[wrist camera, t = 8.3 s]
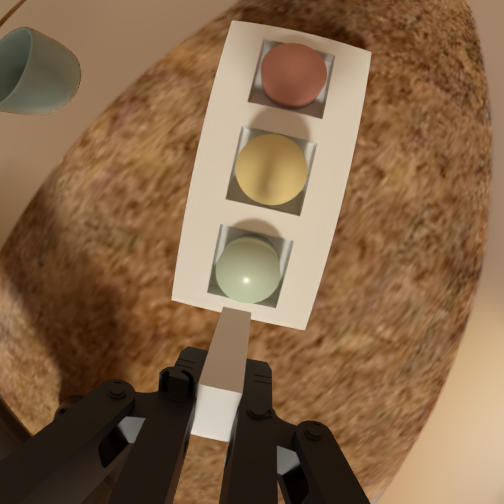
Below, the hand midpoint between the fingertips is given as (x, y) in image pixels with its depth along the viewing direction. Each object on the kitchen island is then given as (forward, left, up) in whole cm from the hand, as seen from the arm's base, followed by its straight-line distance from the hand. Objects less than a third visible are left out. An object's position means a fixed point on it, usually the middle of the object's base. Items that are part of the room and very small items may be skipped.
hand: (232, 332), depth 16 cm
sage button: (0, +1, -11) cm, 11 cm away
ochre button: (0, +9, -10) cm, 13 cm away
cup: (-24, +15, -13) cm, 31 cm away
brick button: (0, +17, -11) cm, 20 cm away
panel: (0, +9, -13) cm, 15 cm away
